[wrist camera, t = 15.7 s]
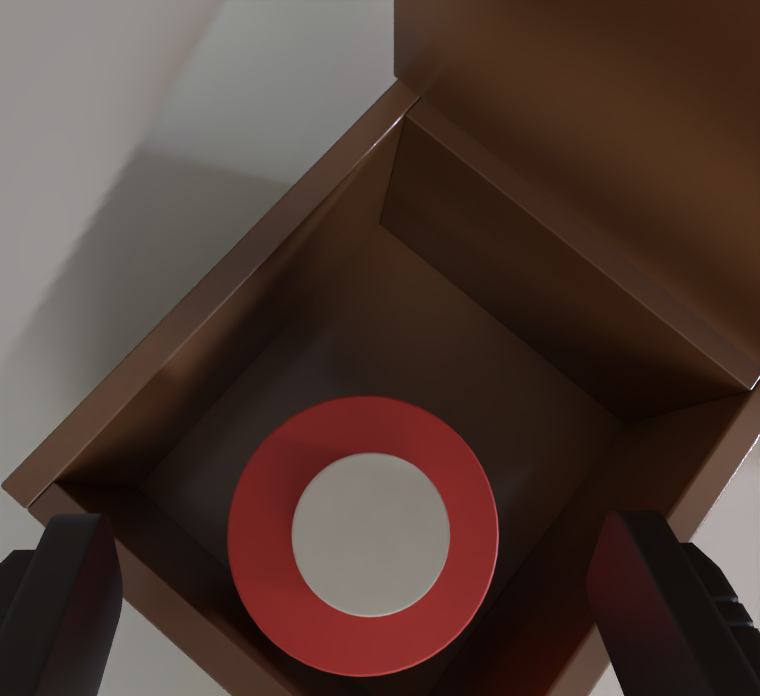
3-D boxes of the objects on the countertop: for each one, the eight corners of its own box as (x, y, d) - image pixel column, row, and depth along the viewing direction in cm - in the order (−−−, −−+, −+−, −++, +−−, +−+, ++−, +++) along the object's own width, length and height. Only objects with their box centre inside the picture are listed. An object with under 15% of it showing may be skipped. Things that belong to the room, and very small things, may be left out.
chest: (405, 757, 21) (456, 899, 13) (107, 492, 22) (-3, 485, 14) (644, 424, 24) (794, 387, 17) (374, 204, 25) (400, 75, 17)
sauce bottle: (353, 635, 21) (392, 773, 10) (231, 529, 21) (148, 555, 11) (451, 507, 22) (580, 511, 11) (335, 409, 22) (353, 323, 12)
